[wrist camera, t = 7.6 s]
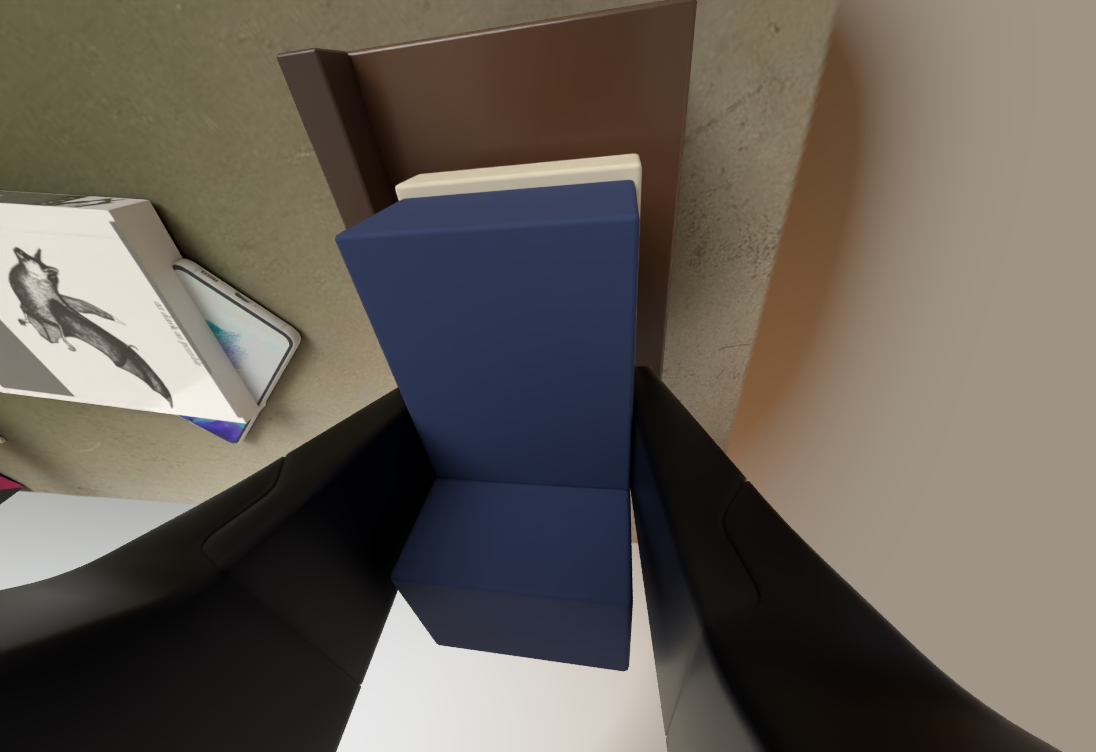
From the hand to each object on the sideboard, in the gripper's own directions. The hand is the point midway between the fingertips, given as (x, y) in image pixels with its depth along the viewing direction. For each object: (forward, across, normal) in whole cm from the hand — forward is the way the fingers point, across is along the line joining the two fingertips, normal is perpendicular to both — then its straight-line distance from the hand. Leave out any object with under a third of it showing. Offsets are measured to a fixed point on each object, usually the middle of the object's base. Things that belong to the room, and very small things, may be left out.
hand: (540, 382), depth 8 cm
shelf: (+11, +1, 0) cm, 11 cm away
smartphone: (+11, +25, +8) cm, 28 cm away
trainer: (+1, 0, 0) cm, 1 cm away
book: (+11, +34, +3) cm, 36 cm away
